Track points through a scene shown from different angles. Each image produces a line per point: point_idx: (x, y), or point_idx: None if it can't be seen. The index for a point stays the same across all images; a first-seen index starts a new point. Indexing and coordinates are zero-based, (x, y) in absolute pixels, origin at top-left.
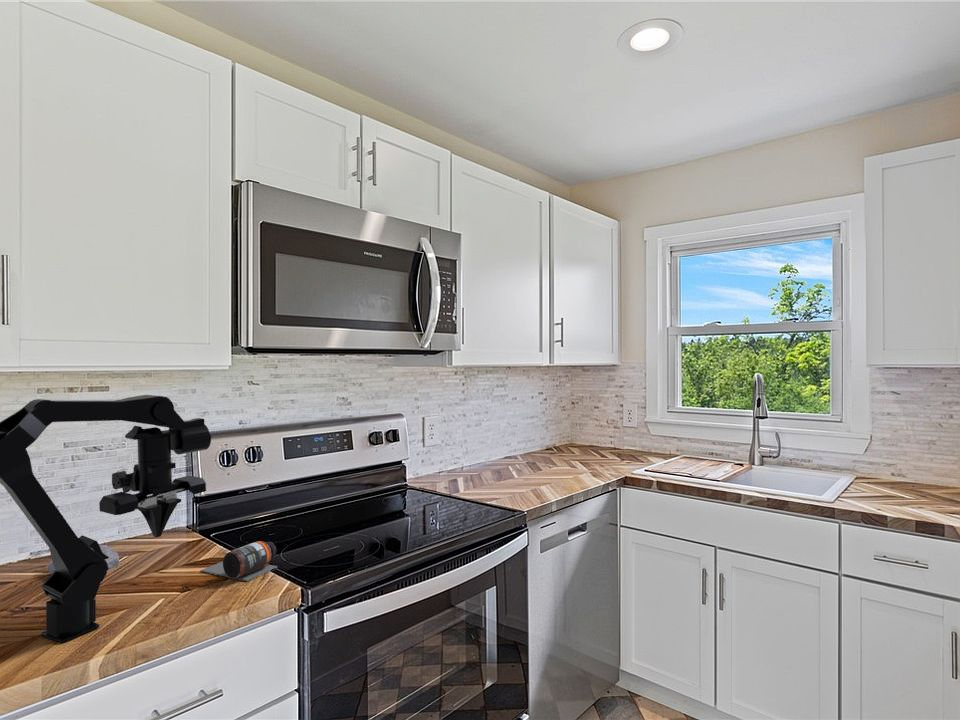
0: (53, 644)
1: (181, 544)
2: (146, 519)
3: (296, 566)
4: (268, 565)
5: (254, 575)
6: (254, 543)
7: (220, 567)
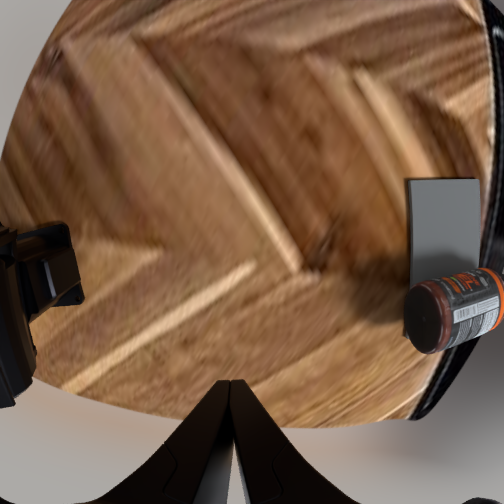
0: None
1: (448, 4)
2: (154, 463)
3: None
4: None
5: None
6: (494, 315)
7: (439, 210)
